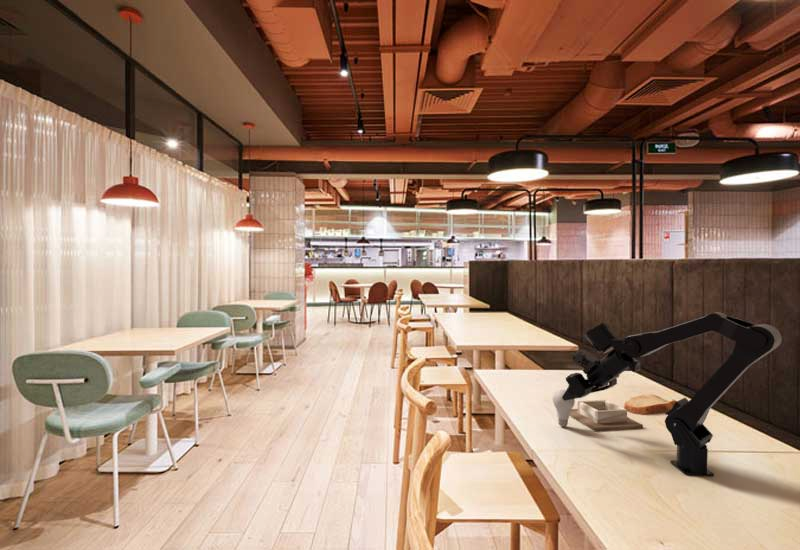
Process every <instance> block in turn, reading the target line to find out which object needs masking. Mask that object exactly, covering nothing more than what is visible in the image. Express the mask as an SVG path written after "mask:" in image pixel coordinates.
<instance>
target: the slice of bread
mask: <svg viewBox="0 0 800 550" xmlns="http://www.w3.org/2000/svg"><path fill="white" fill-rule="evenodd" d="M677 401H678V400H675V399H672V400H671V401H669V400H667V399H664V398H662V397H660V396H658V395H655V394H647V395H646V394H645V395H644V394H643V395H637V396H633V397H631V398H629V399H628V400H626V401H625V402H624V409H626V410H627V413H628V412H629V413H630V414H633V415H638V416H639V415H640V416H641V415H652V414H658V413H664V412H665V413H667V412H669V411H670V410H671V409H672V407H673V405H674V404H675V402H677Z"/></svg>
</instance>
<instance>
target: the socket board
mask: <svg viewBox="0 0 800 550" xmlns="http://www.w3.org/2000/svg"><path fill="white" fill-rule="evenodd" d="M570 416H571V417H570ZM569 417H570V418H571V419H574V420H575V419H576V420H575V421H577V422H579V423H580V424H582V425H584V426H585V427H586V428H588V427H589V428H588V429H590V430H591V431H594V432H603V431H606V432H607V431H618V430H620V431H621V430H632V429H633V430H634V429H644V428H643V427H644V424H642V423H641V422H638V421H636V420H634V419H632V418H630V417H628V411H627V410H626V409H624V408H623V407H622V406H619V405H617V404H615V403H613V402H611V401H609V400H606V399H599V400H579V401H577V408H572V409H571V411H570V414H569Z"/></svg>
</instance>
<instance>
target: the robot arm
mask: <svg viewBox="0 0 800 550" xmlns="http://www.w3.org/2000/svg"><path fill="white" fill-rule="evenodd" d="M711 332H716V333H717V334H720V335H722V336H724V337H726V339H727V338H728V339H729V340H731V341H734V342H735V343H734V345H733V348H732V349H731V351H730V352H731V353H730V355H729V356H728V357H727V358H726V360H725V361H724V362H723V363H722V364H721V365H720V366H719V368H718V369H717V370H715V372H714V373H713V374H712V375H711V377H709V379H708V380H707V381H705V383H704V384H703V385H702V386H701V388H699V390H698V391H697V392H696V393H695V394H694V396H693V397H691V399H690V400H688V399H687V398H686V397H683V398H681V399H679V400H676V401H677V402H675V404H674V405H673V407H672V409H671V410H670V411H666V412H665V415H666V417H665V419H664V424H665V427H666V429H667V431H668V432H669V433H670V435H671V437H672V441H673V443H674V445H675V446H676V460H675V459H674V460H670V464H672V465H673V466H674V467H675V468H677V469H678V470H679V471H681V472H682V474H684V475H687V476H707V477H708V476H709V477H713V476H715V473H714V472H713V471H712V470H710V469H708V457H709V456H708V452H709V448H708V445H707V444H708V443H711V440H712V439H713V437H714V436H713V434H712V433H711V431H710V430H709V429H708V427H706V426H705V424H704V422H705V421H706V419H707V416H708V414H709V412H710V410H711V408H712V407H713V406H714V405H715V404H716V403H717V402H718V401H719V400H720V399H721V398H722V397H723V395H725V394H726V392H727V391H728V390H729V389H730V388H731V387H732V386H733V385H734V383H735V382H736V381H737V380H738V379H739V378H740V377H741V376H742V375H743V374H744V373H745V372H747V370H748V369H749V368H750V366H752V365H753V364H755V363H757V362H758V361H759V360H761V359H763V358H764V357H766V356H767V355H768V354H770V353H771V352H772V351H774V350H775V349H777V348H778V347H779V346H780V345H781V343H782V339H783V338H782V335H781V333H780V331H779V329H778V328H776V327H775V326H773V325H770V324H766V323H760V324H755V323H753V322H750V321H746V320H743V319H740V318H736V317H733V316H730V315H727V314H725V313H723V312H720V311H716V312H711V313H708V314H706V315H704V316H701V317H698V318H694V319H692V320H690V321H686V322H683V323H680V324H677V325H676V324H675V325H674V326H669V327H668V328H664V329H661V330H658V331H657V330H656V331H649V332H643V333H637V334H632V335H631V334H630V335H627V336H621V337H619V336H618V334H616V333H615V332H614V331H613V329H612V328H611V326H610V325H609V324H608V323H607V322H601V323H600V324H598V325H597V326H595V327H593V328H591V329H589V330H588V331H587V332H586V333H585V334H584V337H586V339H587V340H588V341H589V343H590V344H591V346H592V347H594V349H595V350H596V352H598V353H601V352H602V353H603V354H606V355H605V356H604V357H603V358H601V359H598V358H597V357H596V356H595V355H593V354H592V353H590V352H589V351H587V350H585V349H578V350H576V351H575V352H574V353H572V354H571V357H572V358H571V361H572V362H573V363H575V364H577V365H578V366H580V367H581V368H582V372H583V374H584V375H585V376H586V378H585V377H584V376H583V374H582V373H580V372H574V373H570V374H569V375H568V376H566V377H565V381H566V382H567V383H566V384H568V387H567V388H566V389H565V390H566V392H565V393H564V395H563V396H562V398H563V400H564V401H565V400H571V399H574V400H575V399H582V398H585V397H587V396H588V395H590V394H592V393H597V392H602V391H605V390H608V389H611V388H613V387H615V386H616V385H617V384H618V378H619V377H620V375H621V374H622V373H623V372H625V371H626V370H628V369H630V371H632V372H633V373H635V372H636V373H637V372H639V371H641V369H642V368H641V363H642V362H641V360H637V359H638V358H642V357H647V356H648V355H651V354H653V353H655V352H657V351H659V350H661V349H662V348H664V347H666V346H667V345H671V344H674V343H677V342H680V341H683V340H687V339H691V338H695V337H697V336H701V335H704V334H707V333H711ZM607 353H608V354H607Z"/></svg>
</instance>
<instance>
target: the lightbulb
mask: <svg viewBox="0 0 800 550" xmlns="http://www.w3.org/2000/svg"><path fill="white" fill-rule="evenodd" d="M566 390H567V389H559V390H556V391H555V392H554V394H553V396H552V402H553V406H554V408H555V410H556V413H557V418H558V425H559V426H561V428H565V427H566V426H567V427H568V424H569V423H568V422H569V418H570V416H569V414H570V411H571V409H574V406H575V402H576V401H575V399H571V400H565V401H564V400H563V398H562V396H563V395H564V393H565V392H566Z"/></svg>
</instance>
